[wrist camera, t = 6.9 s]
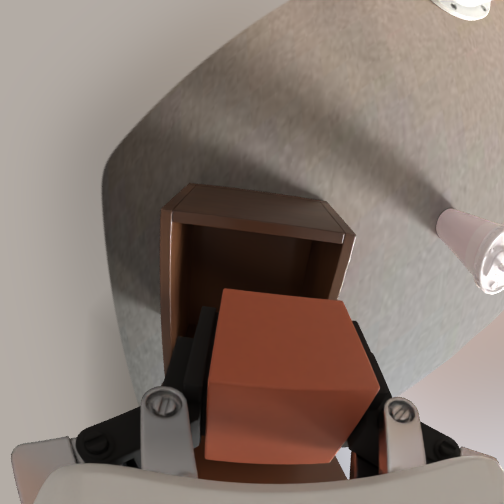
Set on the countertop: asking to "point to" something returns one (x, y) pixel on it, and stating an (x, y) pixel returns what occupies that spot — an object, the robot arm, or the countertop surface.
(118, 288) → the countertop surface
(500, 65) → the countertop surface
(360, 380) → the block
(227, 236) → the chest
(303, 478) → the lid
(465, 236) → the smoothie
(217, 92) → the countertop surface
